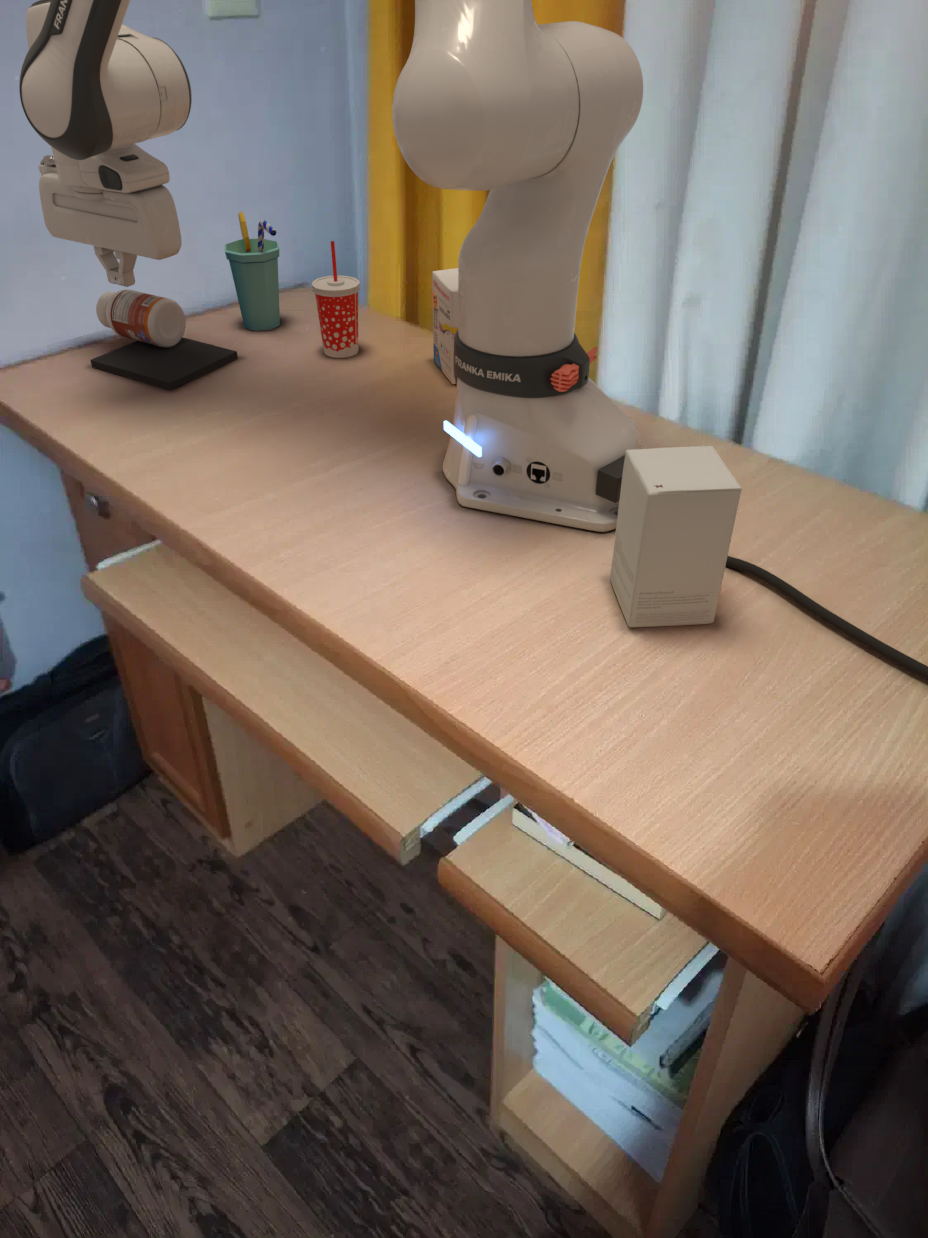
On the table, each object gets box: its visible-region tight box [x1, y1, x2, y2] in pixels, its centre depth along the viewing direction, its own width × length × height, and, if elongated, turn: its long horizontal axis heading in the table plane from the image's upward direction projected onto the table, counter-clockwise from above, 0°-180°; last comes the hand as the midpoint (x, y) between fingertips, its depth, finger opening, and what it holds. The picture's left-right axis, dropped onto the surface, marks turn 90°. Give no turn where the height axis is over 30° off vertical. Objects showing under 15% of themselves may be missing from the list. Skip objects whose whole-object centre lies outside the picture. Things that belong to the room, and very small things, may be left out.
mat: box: [89, 337, 239, 391], centre depth 118 cm, size 14×12×1 cm
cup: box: [224, 211, 281, 332], centre depth 124 cm, size 14×8×15 cm, turn 35°
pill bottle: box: [95, 288, 187, 348], centre depth 120 cm, size 6×6×11 cm
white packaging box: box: [609, 445, 743, 628], centre depth 73 cm, size 7×7×13 cm
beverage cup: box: [311, 240, 361, 359], centre depth 117 cm, size 6×6×14 cm
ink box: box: [431, 267, 458, 385], centre depth 113 cm, size 9×8×12 cm
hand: (122, 283), depth 114 cm, fingers closed
